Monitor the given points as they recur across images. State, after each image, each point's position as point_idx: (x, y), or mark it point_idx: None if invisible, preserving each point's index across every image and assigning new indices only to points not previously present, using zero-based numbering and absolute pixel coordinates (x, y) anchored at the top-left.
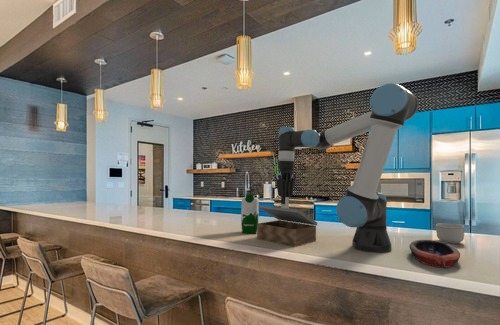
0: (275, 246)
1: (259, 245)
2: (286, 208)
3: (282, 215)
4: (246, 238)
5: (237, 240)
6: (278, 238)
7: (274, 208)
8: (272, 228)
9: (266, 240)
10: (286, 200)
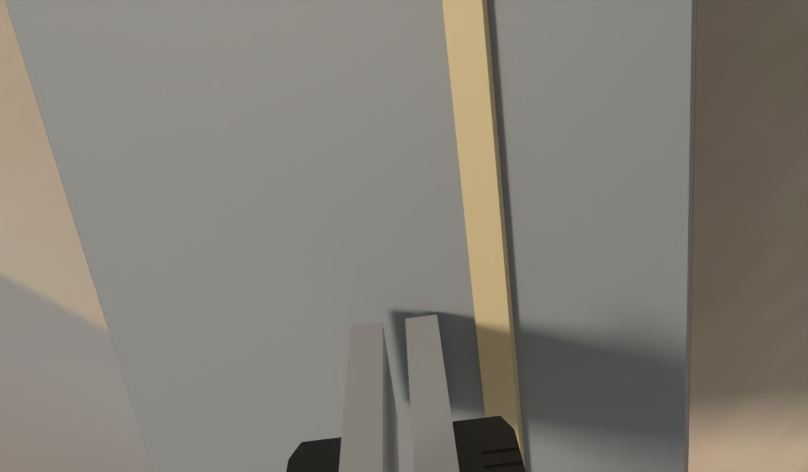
0: (713, 9)
1: (801, 144)
2: (692, 124)
3: None
4: None
5: (790, 419)
6: None
7: (687, 406)
8: None
9: None
10: (440, 450)
